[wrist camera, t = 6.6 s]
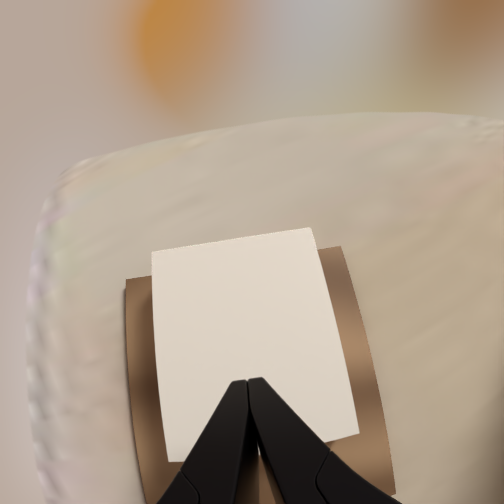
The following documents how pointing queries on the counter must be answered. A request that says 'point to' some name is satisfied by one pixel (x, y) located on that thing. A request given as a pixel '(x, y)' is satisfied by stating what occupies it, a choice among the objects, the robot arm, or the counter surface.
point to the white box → (247, 333)
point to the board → (348, 449)
